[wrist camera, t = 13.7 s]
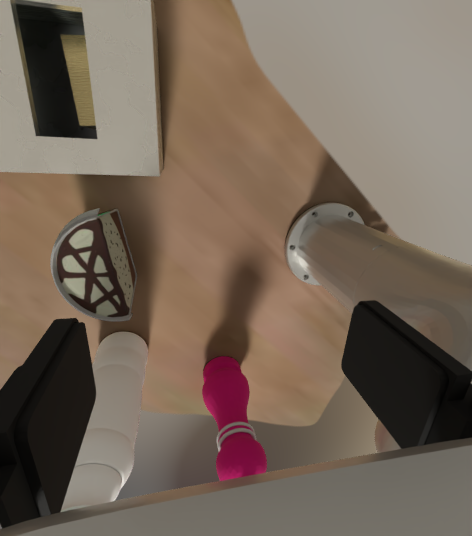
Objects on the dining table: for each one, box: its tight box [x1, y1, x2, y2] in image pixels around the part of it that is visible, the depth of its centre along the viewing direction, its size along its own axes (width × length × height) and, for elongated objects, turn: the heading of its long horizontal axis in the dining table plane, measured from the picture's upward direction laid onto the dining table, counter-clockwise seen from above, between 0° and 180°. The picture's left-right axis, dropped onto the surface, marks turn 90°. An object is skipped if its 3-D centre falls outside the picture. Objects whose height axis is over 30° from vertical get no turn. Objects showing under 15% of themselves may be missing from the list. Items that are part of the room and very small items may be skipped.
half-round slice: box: [51, 208, 137, 321], centre depth 33 cm, size 12×6×10 cm, turn 7°
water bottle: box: [61, 332, 148, 512], centre depth 32 cm, size 7×7×25 cm
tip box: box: [0, 0, 164, 176], centre depth 27 cm, size 14×14×11 cm
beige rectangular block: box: [60, 34, 96, 129], centre depth 29 cm, size 2×5×7 cm
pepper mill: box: [202, 356, 267, 481], centre depth 40 cm, size 7×7×20 cm
